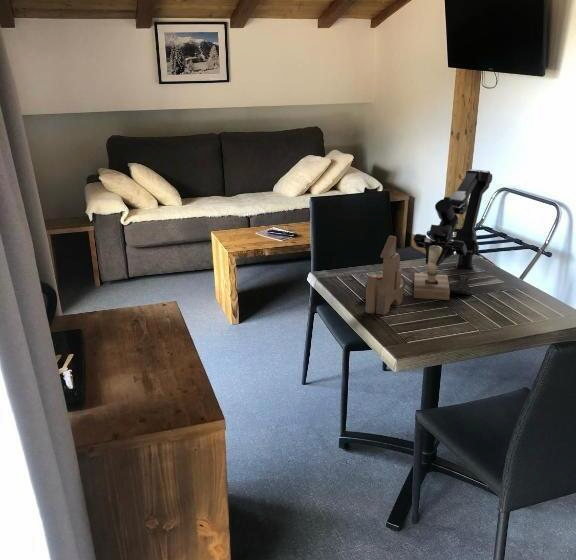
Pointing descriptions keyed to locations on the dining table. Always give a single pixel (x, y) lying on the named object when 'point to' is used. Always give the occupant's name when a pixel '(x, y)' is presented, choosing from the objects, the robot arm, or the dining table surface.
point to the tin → (379, 278)
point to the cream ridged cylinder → (432, 263)
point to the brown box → (431, 287)
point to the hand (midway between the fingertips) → (431, 264)
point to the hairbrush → (461, 286)
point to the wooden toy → (385, 282)
